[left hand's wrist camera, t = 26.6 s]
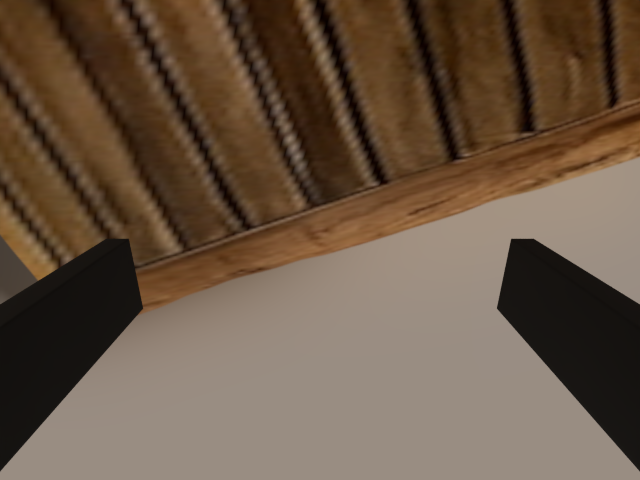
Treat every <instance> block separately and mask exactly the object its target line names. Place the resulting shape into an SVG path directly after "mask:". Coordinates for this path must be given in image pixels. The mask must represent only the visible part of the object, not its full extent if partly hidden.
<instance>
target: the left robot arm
mask: <svg viewBox="0 0 640 480" xmlns="http://www.w3.org/2000/svg"><path fill="white" fill-rule="evenodd" d="M142 309H143V306H142V301H141V296H140V291H139V286H138V281H137V277H136V272H135V267H134V262H133V257H132V252H131V248H130V243H129V239H105V240H104V241H102V242H101V243H99V244H97V245H96V246H94V247H92V248H91V249H89V250H88V251H86V252H84V253H83V254H81V255H79V256H78V257H76V258H75V259H73V260H71V261H70V262H68V263H67V264H65V265H63V266H62V267H60V268H58V269H57V270H55V271H54V272H52V273H50V274H49V275H47V276H46V277H44V278H42V279H41V280H39V281H37V282H36V283H34V284H33V285H31V286H29V287H28V288H26V289H25V290H23V291H21V292H20V293H18V294H16V295H15V296H13V297H12V298H10V299H8V300H7V301H5V302H4V303H2V304H0V471H1V470H2V469H3V468H4V466H5V465H6V464H7V463H8V462H9V461H10V460H11V458H12V457H13V456H14V455H15V454H16V453H17V452H18V450H19V449H20V448H21V447H22V446H23V445H24V444H25V442H26V441H27V440H28V439H29V438H30V437H31V436H32V434H33V433H34V432H35V431H36V430H37V429H38V428H39V426H40V425H41V424H42V423H43V422H44V421H45V420H46V419H47V417H48V416H49V415H50V414H51V413H52V412H53V411H54V409H55V408H56V407H57V406H58V405H59V404H60V403H61V401H62V400H63V399H64V398H65V397H66V396H67V395H68V393H69V392H70V391H71V390H72V389H73V388H74V387H75V385H76V384H77V383H78V382H79V381H80V380H81V379H82V377H83V376H84V375H85V374H86V373H87V372H88V371H89V369H90V368H91V367H92V366H93V365H94V364H95V363H96V361H97V360H98V359H99V358H100V357H101V356H102V355H103V354H104V352H105V351H106V350H107V349H108V348H109V347H110V346H111V344H112V343H113V342H114V341H115V340H116V339H117V338H118V336H119V335H120V334H121V333H122V332H123V331H124V330H125V328H126V327H127V326H128V325H129V324H130V323H131V322H132V320H133V319H134V318H135V317H136V316H137V315H138V314H139V313H140V311H141V310H142ZM497 309H498V310H499V311H500V312H501V314H502V315H503V316H504V317H505V318H506V319H507V320H508V322H509V323H510V324H511V325H512V326H513V327H514V328H515V330H516V331H517V332H518V333H519V334H520V335H521V336H522V338H523V339H524V340H525V341H526V342H527V343H528V344H529V346H530V347H531V348H532V349H533V350H534V351H535V352H536V354H537V355H538V356H539V357H540V358H541V359H542V360H543V362H544V363H545V364H546V365H547V366H548V367H549V368H550V370H551V371H552V372H553V373H554V374H555V375H556V376H557V377H558V379H559V380H560V381H561V382H562V383H563V384H564V385H565V387H566V388H567V389H568V390H569V391H570V392H571V393H572V395H573V396H574V397H575V398H576V399H577V400H578V401H579V403H580V404H581V405H582V406H583V407H584V408H585V409H586V411H587V412H588V413H589V414H590V415H591V416H592V417H593V419H594V420H595V421H596V422H597V423H598V424H599V425H600V426H601V428H602V429H603V430H604V431H605V432H606V433H607V434H608V436H609V437H610V438H611V439H612V440H613V441H614V442H615V444H616V445H617V446H618V447H619V448H620V449H621V450H622V452H623V453H624V454H625V455H626V456H627V457H628V458H629V460H630V461H631V462H632V463H633V464H634V465H635V466H636V467H637V469H638V470H639V471H640V304H638V303H637V302H635V301H633V300H632V299H630V298H628V297H627V296H625V295H624V294H622V293H620V292H619V291H617V290H615V289H614V288H612V287H611V286H609V285H607V284H606V283H604V282H603V281H601V280H599V279H598V278H596V277H594V276H593V275H591V274H590V273H588V272H586V271H585V270H583V269H582V268H580V267H578V266H577V265H575V264H573V263H572V262H570V261H569V260H567V259H565V258H564V257H562V256H561V255H559V254H557V253H556V252H554V251H552V250H551V249H549V248H547V247H546V246H544V245H543V244H541V243H539V242H538V241H536V240H535V239H511V243H510V248H509V252H508V257H507V262H506V267H505V272H504V277H503V281H502V286H501V291H500V296H499V301H498V306H497Z"/></svg>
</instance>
